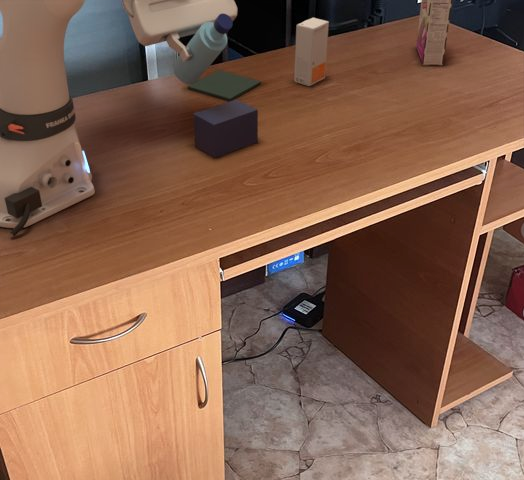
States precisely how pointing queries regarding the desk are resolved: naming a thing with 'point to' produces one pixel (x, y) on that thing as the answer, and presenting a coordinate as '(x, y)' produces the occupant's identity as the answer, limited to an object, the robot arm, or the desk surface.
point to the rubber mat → (224, 85)
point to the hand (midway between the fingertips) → (204, 55)
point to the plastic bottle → (203, 49)
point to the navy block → (225, 128)
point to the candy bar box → (433, 31)
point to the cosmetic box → (311, 51)
